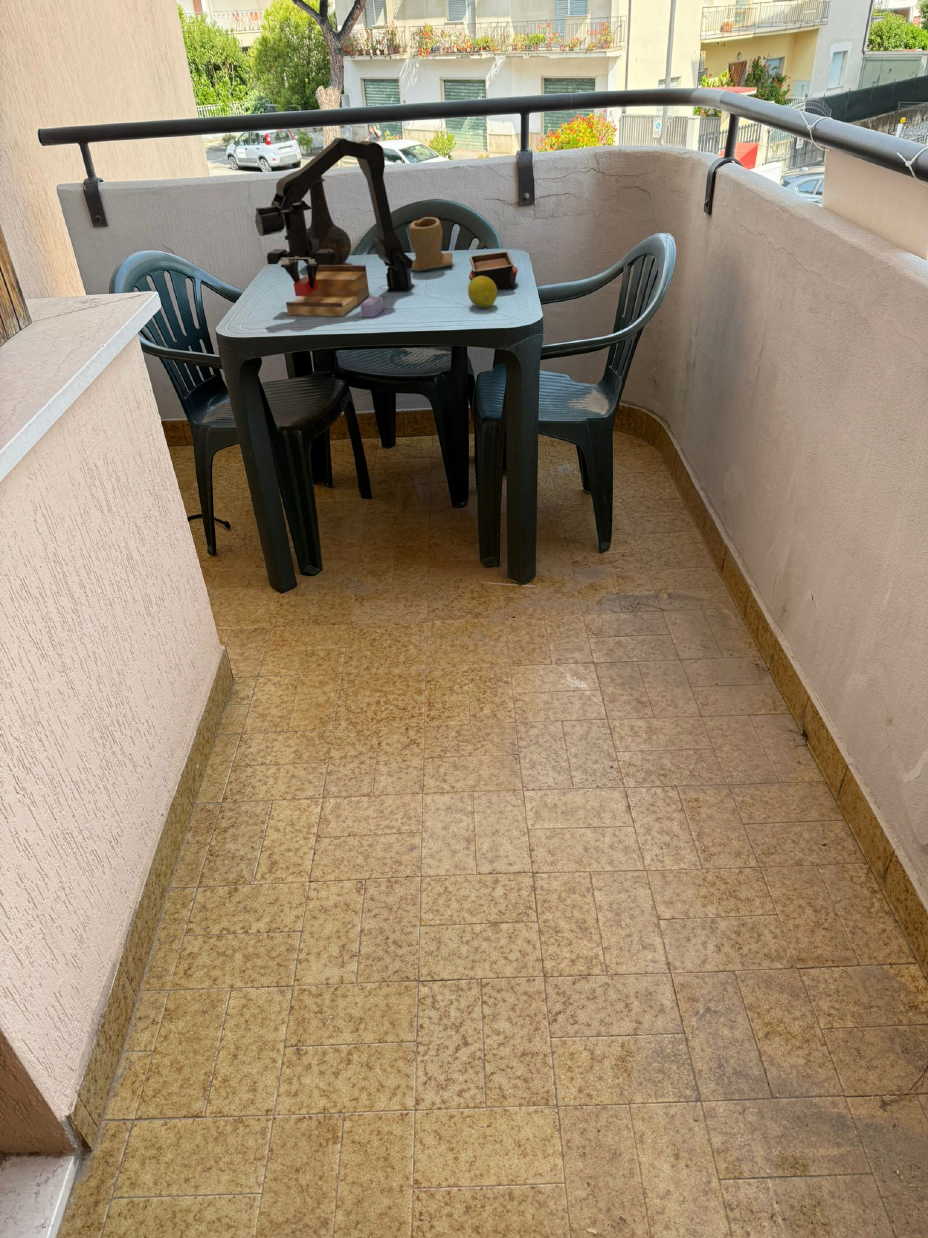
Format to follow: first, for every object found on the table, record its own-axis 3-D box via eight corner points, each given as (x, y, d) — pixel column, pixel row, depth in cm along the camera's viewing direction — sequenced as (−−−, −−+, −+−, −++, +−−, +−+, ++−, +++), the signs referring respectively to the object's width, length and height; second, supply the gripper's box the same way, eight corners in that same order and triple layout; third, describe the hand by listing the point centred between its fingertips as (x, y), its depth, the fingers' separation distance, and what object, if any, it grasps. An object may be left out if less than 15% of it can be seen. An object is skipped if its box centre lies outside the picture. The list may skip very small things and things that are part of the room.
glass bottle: (310, 260, 289) (295, 169, 273) (359, 258, 286) (348, 166, 270) (293, 273, 275) (276, 179, 259) (345, 272, 272) (331, 176, 256)
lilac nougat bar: (383, 308, 237) (381, 296, 235) (373, 317, 231) (372, 304, 229) (371, 308, 238) (369, 296, 236) (361, 316, 232) (360, 304, 230)
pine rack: (369, 295, 249) (365, 264, 244) (343, 316, 234) (338, 284, 229) (317, 294, 254) (312, 264, 249) (288, 315, 238) (282, 283, 233)
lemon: (500, 310, 229) (499, 279, 224) (472, 313, 228) (470, 282, 224) (493, 299, 238) (492, 269, 233) (466, 302, 237) (464, 272, 232)
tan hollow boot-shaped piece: (414, 276, 264) (409, 224, 255) (406, 267, 273) (401, 217, 264) (460, 269, 266) (457, 218, 257) (451, 261, 276) (447, 211, 267)
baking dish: (468, 300, 245) (468, 266, 238) (469, 274, 258) (469, 241, 250) (517, 301, 245) (519, 267, 238) (515, 275, 257) (517, 242, 250)
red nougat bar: (318, 288, 241) (316, 276, 239) (307, 296, 236) (305, 283, 234) (306, 288, 242) (304, 276, 240) (295, 295, 236) (293, 283, 234)
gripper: (339, 222, 233) (347, 280, 242) (278, 223, 238) (288, 280, 247) (323, 231, 224) (332, 292, 234) (260, 232, 229) (272, 291, 238)
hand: (306, 288), depth 238 cm, fingers closed on red nougat bar, 3 cm apart
